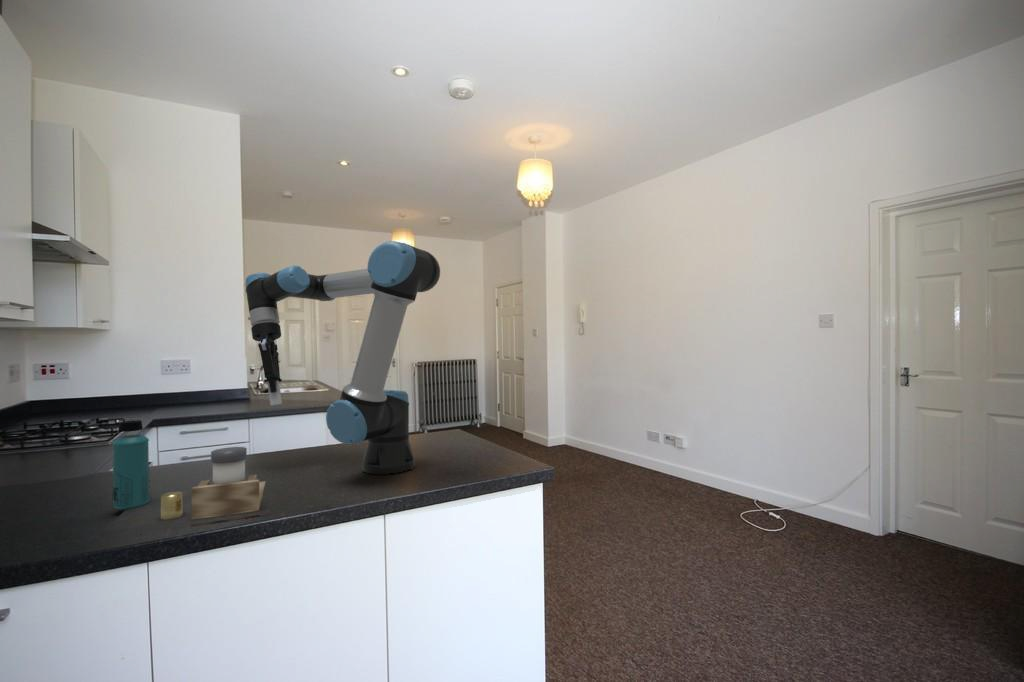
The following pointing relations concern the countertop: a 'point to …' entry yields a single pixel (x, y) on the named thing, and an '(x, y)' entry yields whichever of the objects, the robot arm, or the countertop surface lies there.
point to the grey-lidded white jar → (228, 464)
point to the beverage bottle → (130, 467)
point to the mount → (226, 499)
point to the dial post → (171, 505)
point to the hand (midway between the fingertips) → (276, 404)
